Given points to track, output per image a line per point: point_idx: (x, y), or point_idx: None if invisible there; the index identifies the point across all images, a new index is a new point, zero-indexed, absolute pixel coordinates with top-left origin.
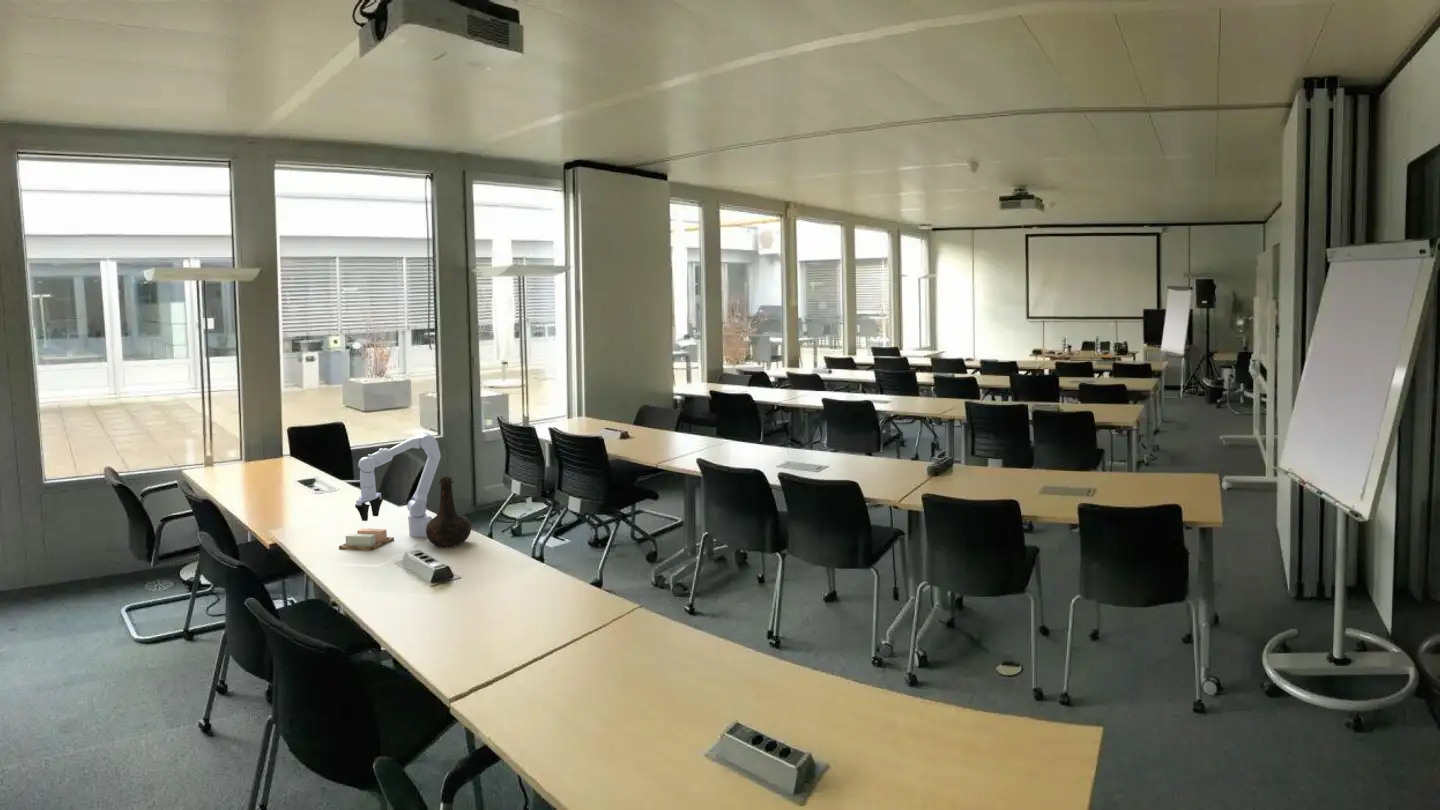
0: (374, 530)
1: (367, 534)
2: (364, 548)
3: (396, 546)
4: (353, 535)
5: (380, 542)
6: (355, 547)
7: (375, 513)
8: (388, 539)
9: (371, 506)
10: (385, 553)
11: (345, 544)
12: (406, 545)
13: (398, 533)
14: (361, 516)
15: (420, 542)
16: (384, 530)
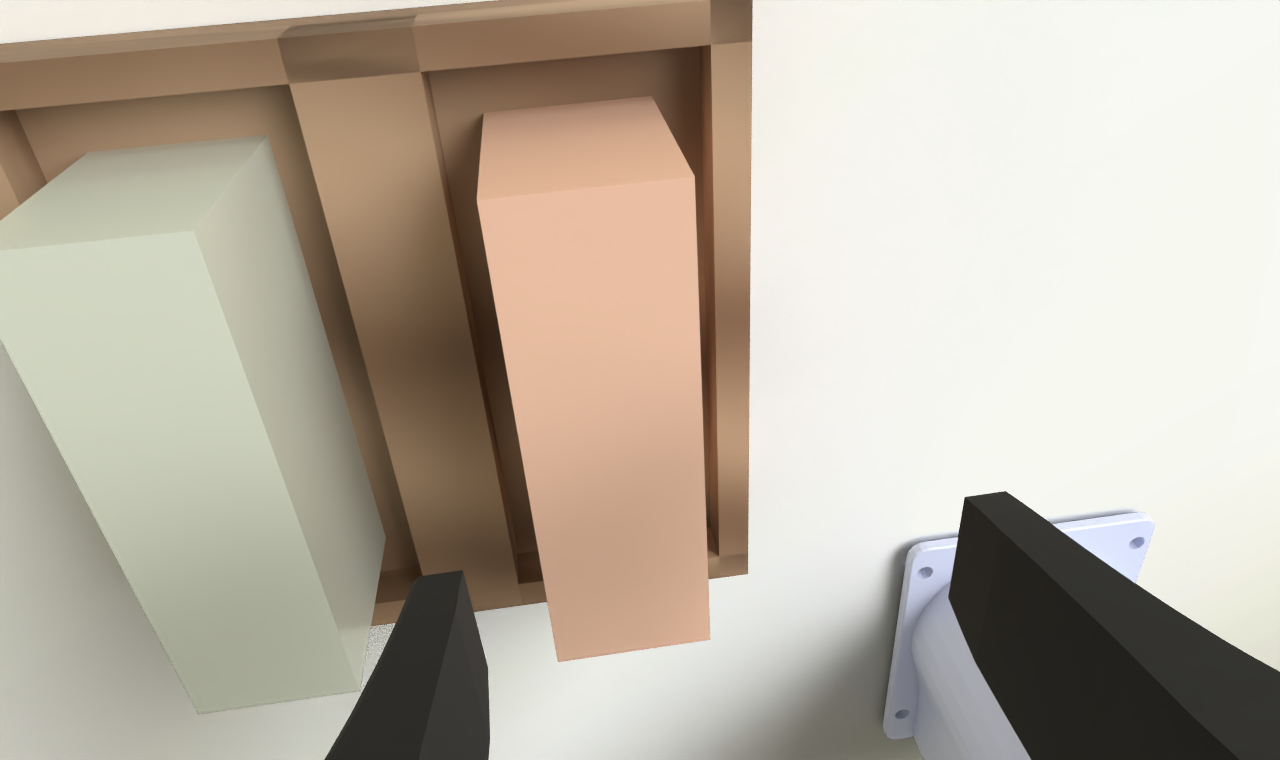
0: (598, 521)
1: (303, 593)
2: None
3: (556, 658)
4: (99, 408)
5: None
6: None
7: (995, 619)
8: None
9: (1174, 724)
10: (260, 728)
11: (111, 99)
12: (622, 714)
13: (1191, 297)
14: (379, 697)
15: (759, 753)
16: (652, 643)
